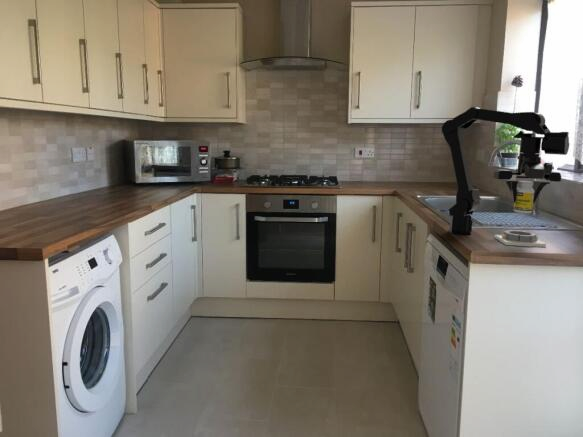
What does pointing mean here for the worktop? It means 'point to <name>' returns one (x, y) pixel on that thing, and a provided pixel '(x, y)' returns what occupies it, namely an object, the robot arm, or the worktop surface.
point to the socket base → (520, 238)
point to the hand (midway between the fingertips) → (523, 202)
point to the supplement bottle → (524, 197)
